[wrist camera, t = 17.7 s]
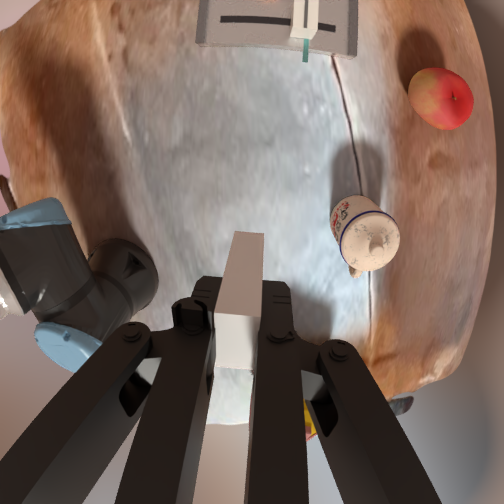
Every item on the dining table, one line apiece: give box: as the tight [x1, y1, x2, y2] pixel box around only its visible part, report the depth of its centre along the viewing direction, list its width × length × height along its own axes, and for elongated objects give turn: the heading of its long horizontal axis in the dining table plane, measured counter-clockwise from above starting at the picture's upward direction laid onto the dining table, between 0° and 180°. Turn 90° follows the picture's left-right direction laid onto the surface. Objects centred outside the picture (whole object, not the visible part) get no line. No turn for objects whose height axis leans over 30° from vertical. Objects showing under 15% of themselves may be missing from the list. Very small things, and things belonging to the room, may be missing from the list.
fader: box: [290, 0, 319, 40], centre depth 27 cm, size 3×5×5 cm, turn 176°
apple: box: [408, 67, 474, 130], centre depth 30 cm, size 10×10×10 cm
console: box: [195, 0, 358, 63], centre depth 28 cm, size 22×20×3 cm
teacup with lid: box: [330, 195, 400, 278], centre depth 40 cm, size 12×9×12 cm
